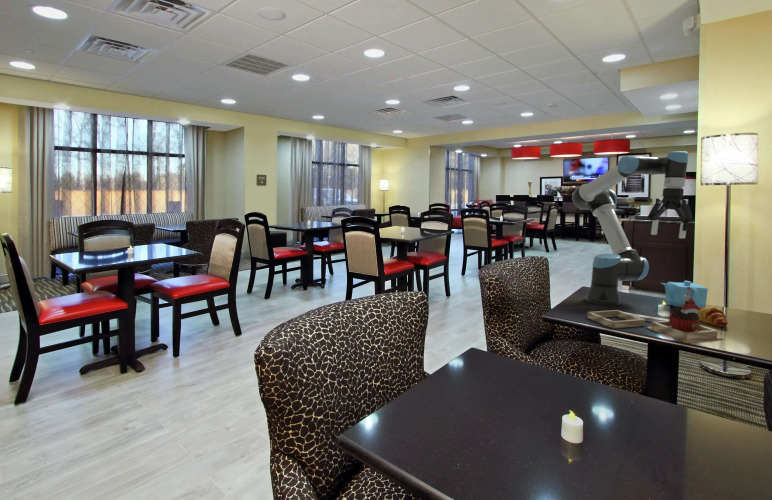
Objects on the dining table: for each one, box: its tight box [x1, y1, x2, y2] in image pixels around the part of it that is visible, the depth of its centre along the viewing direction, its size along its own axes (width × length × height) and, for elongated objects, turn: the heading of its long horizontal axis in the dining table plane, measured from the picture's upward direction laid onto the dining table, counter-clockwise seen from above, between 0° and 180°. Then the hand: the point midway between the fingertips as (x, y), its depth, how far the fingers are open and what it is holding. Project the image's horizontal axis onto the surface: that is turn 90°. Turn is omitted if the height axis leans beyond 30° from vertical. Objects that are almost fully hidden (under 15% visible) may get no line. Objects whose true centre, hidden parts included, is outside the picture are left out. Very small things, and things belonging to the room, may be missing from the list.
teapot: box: [660, 280, 709, 308], centre depth 202 cm, size 18×16×13 cm
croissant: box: [696, 306, 728, 328], centre depth 182 cm, size 21×10×8 cm, turn 172°
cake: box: [669, 287, 701, 333], centre depth 164 cm, size 11×9×18 cm
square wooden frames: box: [586, 309, 724, 344], centre depth 171 cm, size 34×32×3 cm
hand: (667, 236), depth 188 cm, fingers open, 13 cm apart
